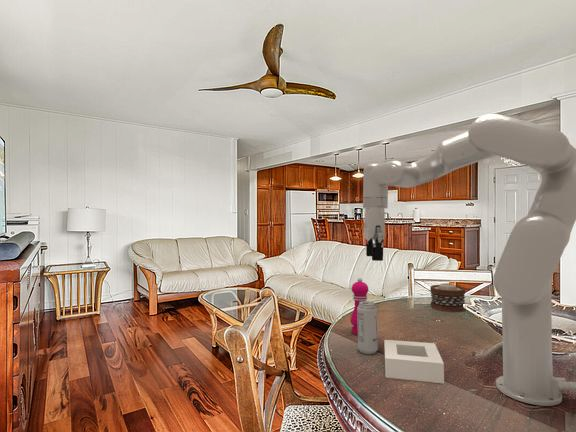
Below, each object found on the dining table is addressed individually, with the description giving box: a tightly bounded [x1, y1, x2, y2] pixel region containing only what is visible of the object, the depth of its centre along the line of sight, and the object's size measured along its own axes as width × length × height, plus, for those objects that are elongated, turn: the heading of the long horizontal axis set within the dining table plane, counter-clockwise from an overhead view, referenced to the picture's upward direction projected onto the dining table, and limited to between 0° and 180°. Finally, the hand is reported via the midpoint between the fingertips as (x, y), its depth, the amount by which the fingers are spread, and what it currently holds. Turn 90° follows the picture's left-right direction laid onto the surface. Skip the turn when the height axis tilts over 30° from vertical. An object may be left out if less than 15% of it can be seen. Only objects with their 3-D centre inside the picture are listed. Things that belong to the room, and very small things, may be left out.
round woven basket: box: [430, 283, 466, 313], centre depth 154 cm, size 15×11×15 cm
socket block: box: [383, 339, 445, 385], centre depth 92 cm, size 14×14×5 cm
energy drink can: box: [357, 300, 379, 355], centre depth 105 cm, size 6×6×15 cm
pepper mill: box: [350, 277, 369, 336], centre depth 122 cm, size 7×7×20 cm
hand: (374, 258), depth 106 cm, fingers open, 9 cm apart
